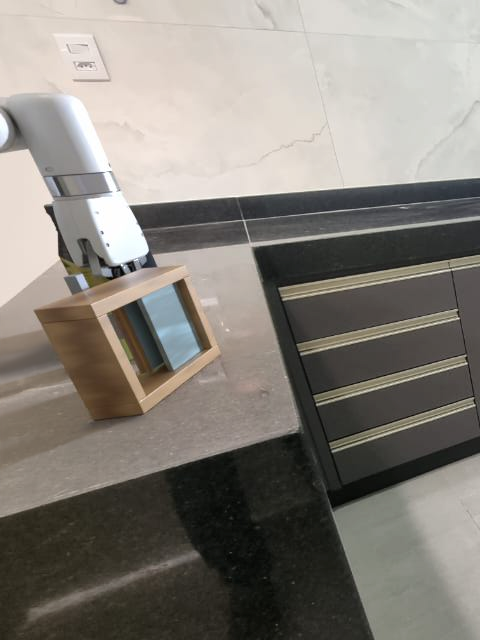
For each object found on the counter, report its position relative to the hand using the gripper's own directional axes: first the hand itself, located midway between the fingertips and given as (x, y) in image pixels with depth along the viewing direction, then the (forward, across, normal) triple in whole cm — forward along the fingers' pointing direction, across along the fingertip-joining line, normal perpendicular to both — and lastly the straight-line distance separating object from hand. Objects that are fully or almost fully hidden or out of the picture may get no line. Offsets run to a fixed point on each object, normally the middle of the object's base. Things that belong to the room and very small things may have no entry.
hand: (139, 305), depth 85 cm
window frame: (+4, +25, +15) cm, 29 cm away
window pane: (+2, +22, +12) cm, 25 cm away
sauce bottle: (+4, -11, -11) cm, 16 cm away
